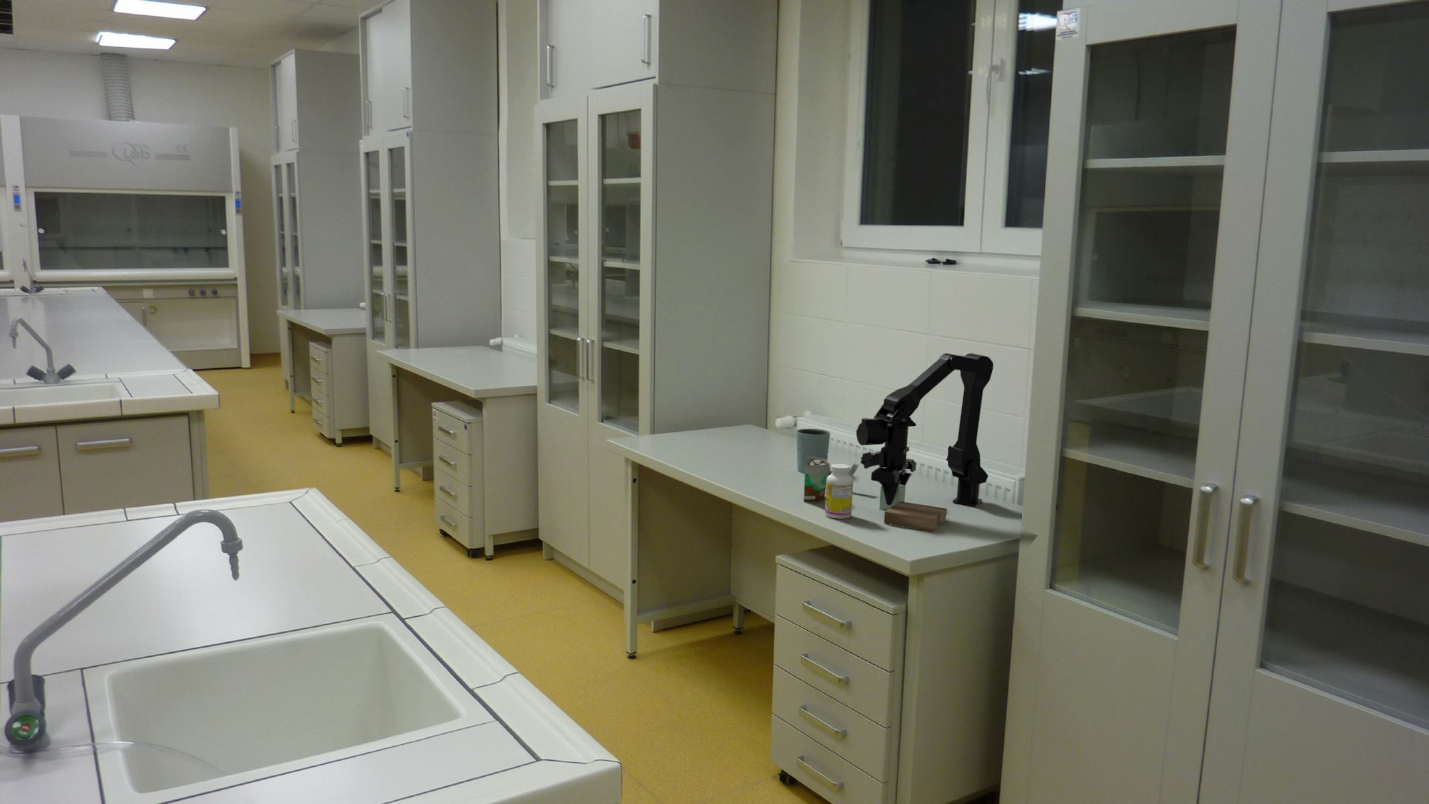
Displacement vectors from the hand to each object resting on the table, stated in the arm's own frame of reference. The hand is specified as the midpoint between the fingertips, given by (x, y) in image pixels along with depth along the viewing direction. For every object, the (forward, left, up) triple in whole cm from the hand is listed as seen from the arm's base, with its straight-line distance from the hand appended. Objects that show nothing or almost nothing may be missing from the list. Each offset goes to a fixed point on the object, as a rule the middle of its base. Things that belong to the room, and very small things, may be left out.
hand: (892, 502), depth 262 cm
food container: (+2, -20, -2) cm, 20 cm away
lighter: (-10, -17, -2) cm, 20 cm away
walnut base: (+9, +9, -2) cm, 13 cm away
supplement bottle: (+15, -9, -2) cm, 18 cm away
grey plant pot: (-27, -34, -2) cm, 43 cm away
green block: (0, 0, -2) cm, 2 cm away
